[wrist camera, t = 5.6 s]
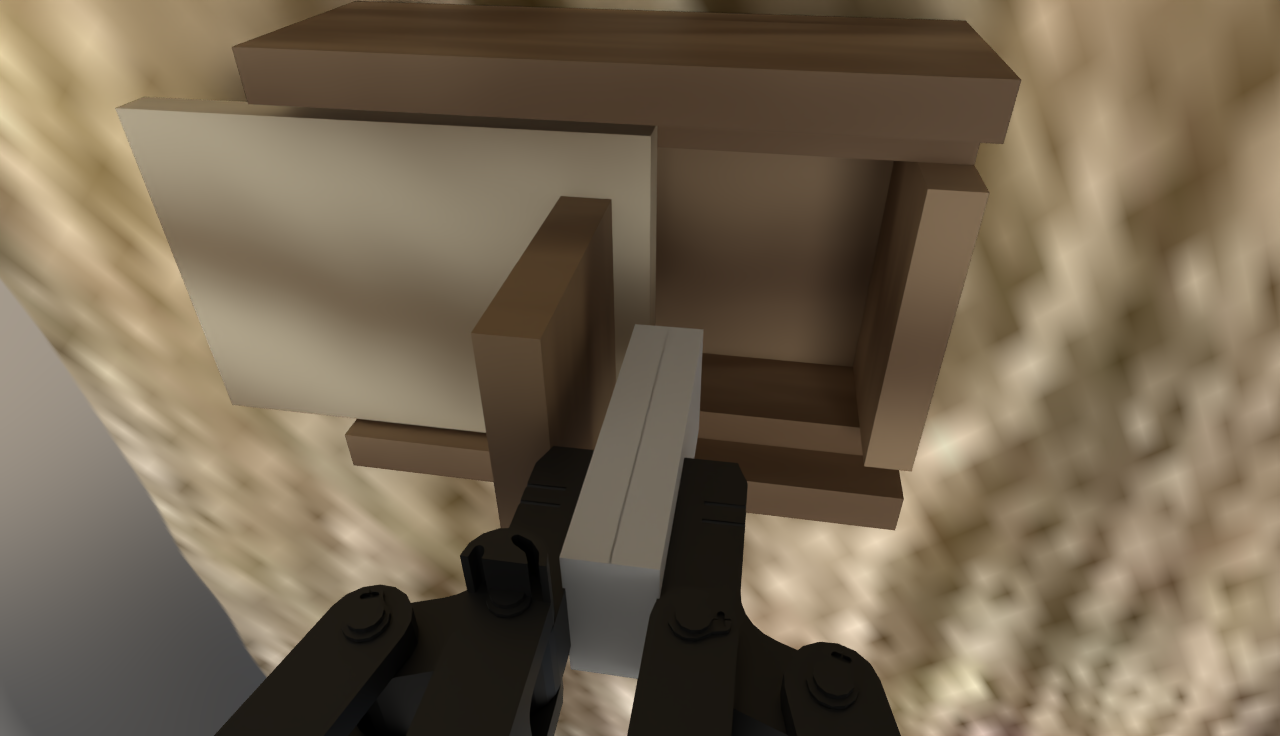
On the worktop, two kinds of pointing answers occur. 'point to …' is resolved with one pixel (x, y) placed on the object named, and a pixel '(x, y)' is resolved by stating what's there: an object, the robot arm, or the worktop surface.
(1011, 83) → the walnut box
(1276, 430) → the worktop surface
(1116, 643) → the worktop surface
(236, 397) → the cover plate
